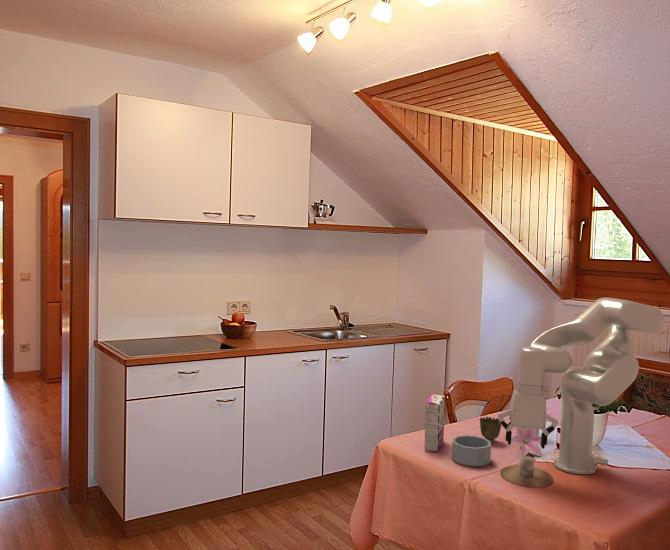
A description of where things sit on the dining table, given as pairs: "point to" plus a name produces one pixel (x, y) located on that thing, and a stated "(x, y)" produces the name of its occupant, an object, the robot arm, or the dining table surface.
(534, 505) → the dining table surface
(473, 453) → the bowl
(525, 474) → the lid
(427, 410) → the candy bar box
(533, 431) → the lily
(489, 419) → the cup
